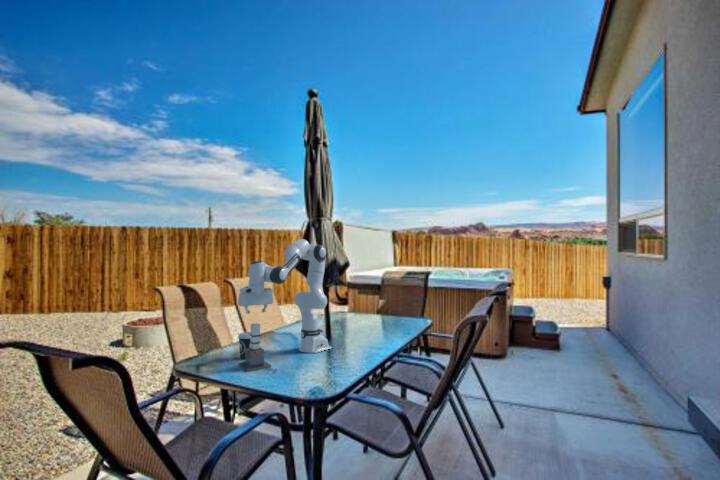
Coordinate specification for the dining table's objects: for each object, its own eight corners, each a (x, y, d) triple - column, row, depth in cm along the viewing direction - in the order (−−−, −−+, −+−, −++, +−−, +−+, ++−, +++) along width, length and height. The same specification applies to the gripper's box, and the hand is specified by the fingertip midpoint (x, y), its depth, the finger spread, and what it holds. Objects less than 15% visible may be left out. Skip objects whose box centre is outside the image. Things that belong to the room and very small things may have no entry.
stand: (260, 361, 218) (261, 344, 218) (270, 367, 207) (271, 349, 207) (237, 365, 209) (238, 348, 210) (246, 372, 198) (247, 353, 199)
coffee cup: (248, 360, 219) (249, 335, 219) (234, 359, 221) (235, 334, 221) (256, 356, 228) (257, 332, 229) (242, 355, 230) (243, 331, 231)
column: (256, 351, 212) (257, 323, 212) (259, 352, 208) (260, 324, 209) (249, 352, 209) (250, 323, 209) (252, 353, 205) (253, 325, 206)
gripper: (270, 287, 218) (270, 310, 218) (237, 289, 206) (236, 313, 205) (275, 288, 213) (274, 311, 213) (241, 290, 201) (240, 315, 201)
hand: (255, 312), depth 209 cm, fingers open, 8 cm apart
